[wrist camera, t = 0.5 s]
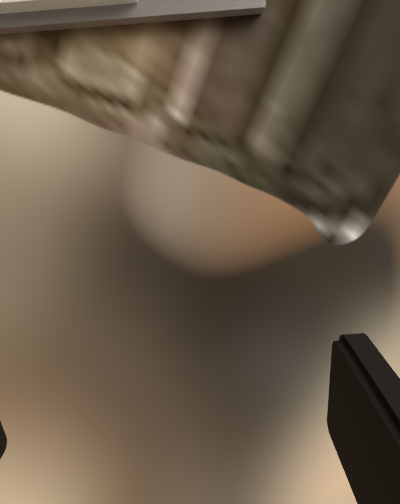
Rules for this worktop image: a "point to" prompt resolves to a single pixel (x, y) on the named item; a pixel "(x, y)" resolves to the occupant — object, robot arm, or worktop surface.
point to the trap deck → (113, 12)
